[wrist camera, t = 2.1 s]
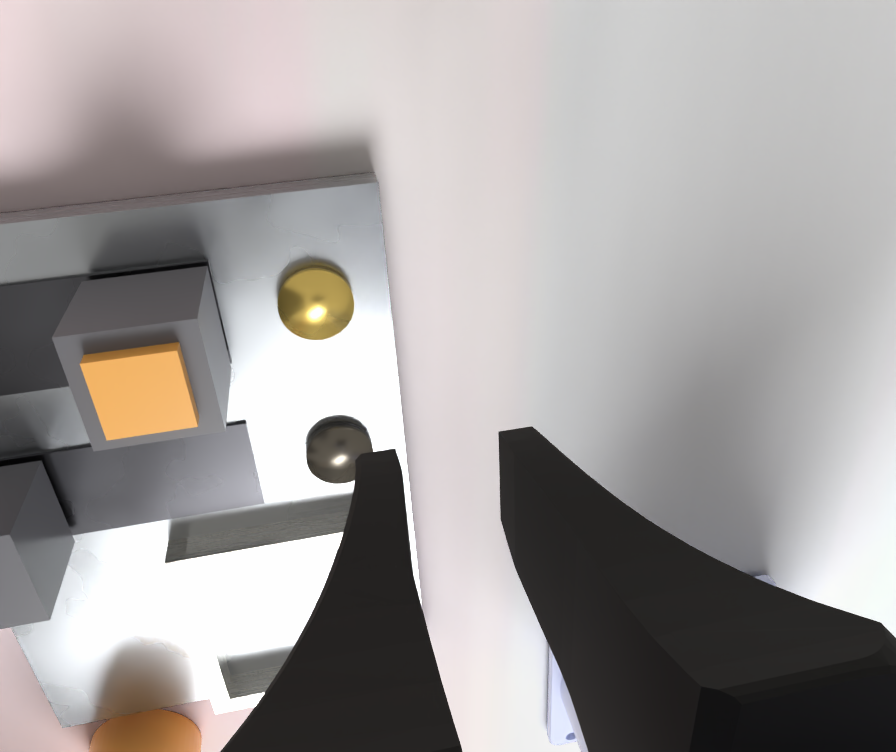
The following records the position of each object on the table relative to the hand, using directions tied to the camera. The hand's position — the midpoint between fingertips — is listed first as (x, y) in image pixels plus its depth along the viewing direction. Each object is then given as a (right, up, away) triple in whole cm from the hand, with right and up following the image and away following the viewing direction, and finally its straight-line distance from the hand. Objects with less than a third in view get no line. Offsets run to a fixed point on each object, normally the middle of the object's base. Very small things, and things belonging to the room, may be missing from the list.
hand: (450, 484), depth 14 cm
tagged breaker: (-7, +3, +6) cm, 10 cm away
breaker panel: (-8, -1, +10) cm, 13 cm away
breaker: (-13, -2, +8) cm, 15 cm away
